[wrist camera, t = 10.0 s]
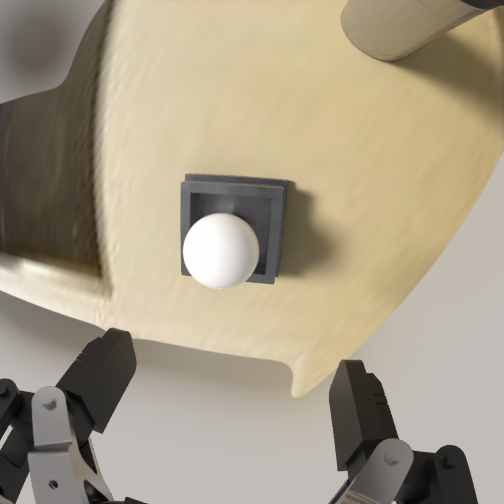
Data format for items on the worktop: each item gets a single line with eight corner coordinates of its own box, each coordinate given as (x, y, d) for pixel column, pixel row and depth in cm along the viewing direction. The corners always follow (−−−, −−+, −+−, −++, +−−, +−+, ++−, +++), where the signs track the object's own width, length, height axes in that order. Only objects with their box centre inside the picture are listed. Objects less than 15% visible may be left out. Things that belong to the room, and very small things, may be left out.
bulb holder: (188, 173, 30) (176, 177, 26) (287, 179, 29) (289, 184, 26) (187, 264, 34) (177, 278, 30) (277, 273, 33) (278, 288, 30)
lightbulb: (256, 257, 32) (250, 310, 22) (201, 248, 32) (171, 295, 22) (266, 202, 30) (264, 232, 19) (208, 193, 30) (175, 217, 19)
